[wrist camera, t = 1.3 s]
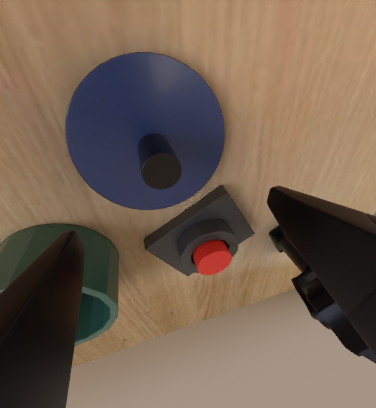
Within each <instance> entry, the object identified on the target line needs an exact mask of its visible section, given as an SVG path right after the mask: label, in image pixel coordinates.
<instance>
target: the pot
mask: <svg viewBox="0 0 376 408" xmlns="http://www.w3.org/2000/svg"><path fill="white" fill-rule="evenodd" d="M70 230H75V231H76V232H77V234H78V236H79V237H80V239H81V241H82V242H83V245H84V280H83V289H82V296H81V303H80V310H79V317H78V324H77V331H76V338H75V345H74V346H76V345H78V344H81V343H84V342H86V341H89V340H91V339H94V338H95V337H97V336H98V335H100V334H101V333H103V332H105V331H106V330H108V329H109V328H110V327H111V325H112V324H113V323H114V321H115V320H116V319H117V317H118V278H119V255H118V252H117V249H116V248H115V246H114V245H113V244H112V242H111V241H110V240H108V239H107V238H106V237H105V236H103V235H102V234H100V233H98V232H96V231H93V230H90V229H88V228H84V227H80V226H75V225H68V224H46V225H39V226H34V227H30V228H26V229H24V230H21V231H18V232H16V233H14V234H13V235H11V236H9V237H8V238H7V239H5V240H4V241H3V242H2V243H1V244H0V293H1V292H2V291H3V290H4V289H5V288H7V287H8V286H9V285H10V284H11V283H12V282H13V281H14V280H15V279H16V278H17V277H18V276H19V275H20V274H21V273H22V272H23V271H24V270H25V269H26V268H27V267H28V266H29V265H30V264H31V263H32V262H33V261H34V260H35V259H36V258H37V257H38V256H39V255H40V254H41V253H42V252H43V251H44V250H45V249H46V248H47V247H48V246H49V245H50V244H51V243H52V242H53V241H54V240H55V239H56V238H57V237H58V236H59V235H60V234H61V233H63V232H65V231H70Z"/></svg>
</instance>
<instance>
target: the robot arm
mask: <svg viewBox="0 0 376 408" xmlns="http://www.w3.org/2000/svg"><path fill="white" fill-rule="evenodd" d="M267 204H268V206H269V208H270V210H271V212H272V213H273V215H274V217H275V218H276V220H277V222H278V223H279V225H280V226H279V227H277V228H276V229H274V230H273V231H271V232H270V233H269V235H270V237H271V239H272V241H273V242H274V244H275V246H276V248H277V250H278V251H279V252H280V253H281V252H283V251H284V252H285V253H286V254H287V255H288V257H289V258H290V259H291V260H292V261H293V262H294V264H295V265H296V266H297V267H298V268H299V270H300V271H301V272H302V273H301V274H300V275H298V276H297V277H296V278H295V277H294V278H293V279H292V282H293V285H294V287H295V288H296V290H297V292H298V293H299V295H300V296H301V298H302V300H303V301H304V303H305V304H306V306H307V308H308V310H309V312H310V314H311V316H312V317H313V318H314V319H317V320H319V322H321V323H322V324H323V325H324V326H325V327H326V328H328V329H331V330H332V331H333V332H334V333H335V334H336V336H337V337H338V338H339V340H340V341H341V343H342V344H343V345H344V346H345V347H346V348H347V349H348V350H350V351H351V352H353V353H354V354H356V355H357V356H364V357H366V358H368V359H369V360H371V361H373V362H374V363H376V216H373V215H370V214H367V213H366V214H365V213H364V212H361V211H357V210H354V209H351V208H348V207H345V206H342V205H338V204H335V203H332V202H329V201H326V200H323V199H320V198H316V197H313V196H310V195H307V194H304V193H301V192H297V191H294V190H291V189H288V188H285V187H282V186H276V187H272V188H271V189H270V191H269V195H268V199H267ZM83 280H84V245H83V242H82V241H81V239H80V237H79V236H78V234H77V232H76V231H75V230H70V231H65V232H63V233H61V234H60V235H59V236H58V237H57V238H56V239H55V240H54V241H53V242H52V243H51V244H50V245H49V246H48V247H47V248H46V249H45V250H44V251H43V252H42V253H41V254H40V255H39V256H38V257H37V258H36V259H35V260H34V261H33V262H32V263H31V264H30V265H29V266H28V267H27V268H26V269H25V270H24V271H23V272H22V273H21V274H20V275H19V276H18V277H17V278H16V279H15V280H14V281H13V282H12V283H11V284H10V285H9V286H8V287H7V288H5V289H4V290H3V291H2V292H1V293H0V408H66V402H67V395H68V388H69V381H70V373H71V367H72V359H73V352H74V345H75V338H76V331H77V324H78V317H79V310H80V303H81V296H82V289H83Z"/></svg>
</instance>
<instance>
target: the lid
mask: <svg viewBox="0 0 376 408" xmlns="http://www.w3.org/2000/svg"><path fill="white" fill-rule="evenodd" d="M65 134H66V143H67V147H68V151H69V154H70V157H71V159H72V162H73V164H74V166H75V167H76V169H77V171H78V173H79V174H80V175H81V177H82V178H83V179H84V181H85V182H86V183H87V184H88V185H89V186H90V187H91V188H92V189H93V190H95V191H96V192H97V193H98V194H100V195H101V196H103V197H104V198H106V199H108V200H110V201H112V202H114V203H116V204H118V205H121V206H124V207H128V208H132V209H139V210H156V209H162V208H167V207H170V206H173V205H176V204H179V203H181V202H183V201H185V200H187V199H188V198H190V197H191V196H193V195H194V194H195V193H197V192H198V191H199V190H200V189H201V188H202V187H203V186H204V185H205V184H206V183H207V182H208V181H209V179H210V178H211V176H212V175H213V173H214V172H215V170H216V168H217V166H218V164H219V161H220V158H221V156H222V151H223V147H224V139H225V128H224V120H223V115H222V112H221V108H220V106H219V103H218V101H217V98H216V97H215V95H214V93H213V91H212V90H211V88H210V87H209V86H208V84H207V83H206V82H205V80H204V79H203V78H202V77H201V76H200V75H199V74H198V73H197V72H195V71H194V70H193V69H191V68H190V67H189V66H187V65H186V64H184V63H182V62H180V61H178V60H176V59H174V58H171V57H168V56H165V55H162V54H156V53H150V52H136V53H129V54H123V55H120V56H117V57H114V58H111V59H109V60H107V61H106V62H104V63H102V64H100V65H99V66H97V67H96V68H95V69H93V70H92V71H91V72H90V73H89V74H88V75H87V76H86V77H85V78H84V79H83V80H82V81H81V83H80V84H79V86H78V87H77V89H76V90H75V92H74V94H73V96H72V99H71V101H70V103H69V106H68V111H67V115H66V124H65Z"/></svg>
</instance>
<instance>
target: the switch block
mask: <svg viewBox="0 0 376 408" xmlns="http://www.w3.org/2000/svg"><path fill="white" fill-rule="evenodd" d="M254 234H255V233H254V232H253V230H252V229H251V227H250V225H249V224H248V222H247V221H246V219H245V218H244V216H243V215H242V213H241V212H240V210H239V209H238V207H237V206H236V204H235V202H234V201H233V199H232V198H231V196H230V195H229V193H228V192H227V191H226V189H225V188H224V187H223V186H222V185H221V186H219V187H218V188H217V189H215V190H214V191H212V192H211V193H210V194H208V195H207V196H205V197H204V198H203V199H201V200H200V201H198V202H197V203H195V204H194V205H193V206H191V207H190V208H188V209H187V210H186V211H184V212H183V213H181V214H180V215H178V216H177V217H176V218H174V219H173V220H171V221H170V222H169V223H167V224H166V225H164V226H163V227H162V228H160V229H159V230H157V231H156V232H154V233H153V234H152V235H150V236H149V237H147V238H146V239H145V240H144V244H145V250H147V251H149V252H150V253H152V254H153V255H155V256H156V257H158V258H160V259H161V260H163V261H164V262H166V263H167V264H169V265H171V266H172V267H174V268H175V269H177V270H179V271H180V272H182V273H183V274H185V275H186V276H189V275H191V274H192V273H199V272H198V270H197V267H196V264H195V262H194V259H193V252H194V251H195V249H196V248H197V247H198V246H200V245H201V244H203V243H204V242H207V241H211V240H215V239H218V240H222V241H223V242H224V243H225V245H226V246H227V248H228V250H229V252H230V254H231V256H232V257H233V256H234V255H235V254H236V252H237V250H238V244H239V243H241V242H243V241H244V240H246V239H247V238H249V237H250V236H252V235H254Z"/></svg>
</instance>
